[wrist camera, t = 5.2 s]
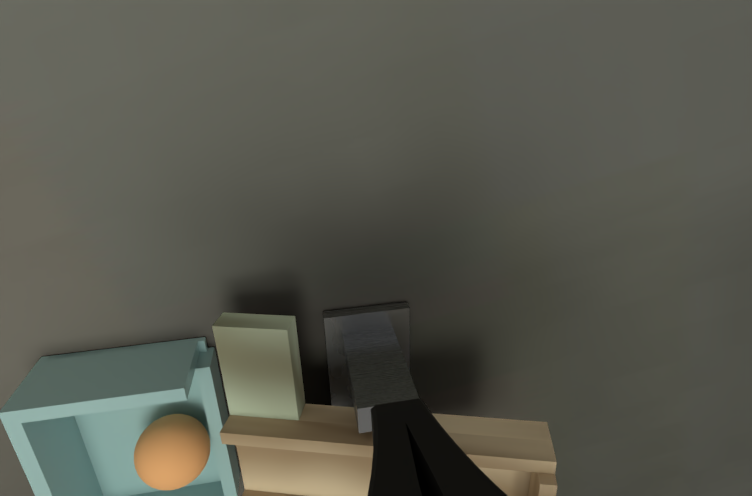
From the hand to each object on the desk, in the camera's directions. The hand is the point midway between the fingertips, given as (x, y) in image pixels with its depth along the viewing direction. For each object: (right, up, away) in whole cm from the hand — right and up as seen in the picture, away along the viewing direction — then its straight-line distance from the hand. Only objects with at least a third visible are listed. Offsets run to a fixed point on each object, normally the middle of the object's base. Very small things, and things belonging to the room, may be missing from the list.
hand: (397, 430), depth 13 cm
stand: (-1, -3, +12) cm, 12 cm away
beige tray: (0, -2, +7) cm, 8 cm away
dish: (-11, -4, +10) cm, 16 cm away
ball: (-10, -4, +9) cm, 14 cm away
